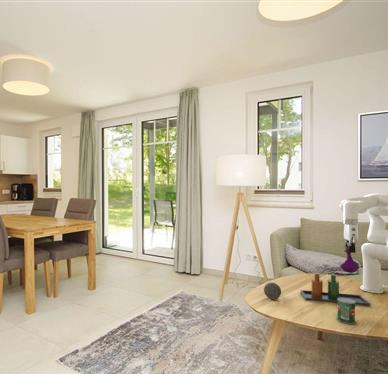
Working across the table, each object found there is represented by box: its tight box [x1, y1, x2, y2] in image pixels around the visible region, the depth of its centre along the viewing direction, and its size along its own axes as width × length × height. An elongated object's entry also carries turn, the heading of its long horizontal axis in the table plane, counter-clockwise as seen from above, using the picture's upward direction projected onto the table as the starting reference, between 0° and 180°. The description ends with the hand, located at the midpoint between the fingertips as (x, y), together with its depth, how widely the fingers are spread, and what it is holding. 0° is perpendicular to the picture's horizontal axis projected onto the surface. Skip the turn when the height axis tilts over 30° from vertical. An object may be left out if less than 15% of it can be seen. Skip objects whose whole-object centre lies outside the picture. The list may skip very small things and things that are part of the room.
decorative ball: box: [263, 282, 282, 300], centre depth 190 cm, size 10×10×10 cm
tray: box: [300, 289, 371, 307], centre depth 188 cm, size 34×14×2 cm, turn 74°
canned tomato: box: [336, 297, 356, 325], centre depth 160 cm, size 8×8×11 cm
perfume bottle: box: [339, 242, 361, 274], centre depth 185 cm, size 8×8×18 cm
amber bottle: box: [311, 272, 324, 299], centre depth 190 cm, size 6×6×15 cm
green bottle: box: [327, 273, 340, 300], centre depth 187 cm, size 6×6×15 cm
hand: (350, 251), depth 184 cm, fingers closed on perfume bottle, 4 cm apart
